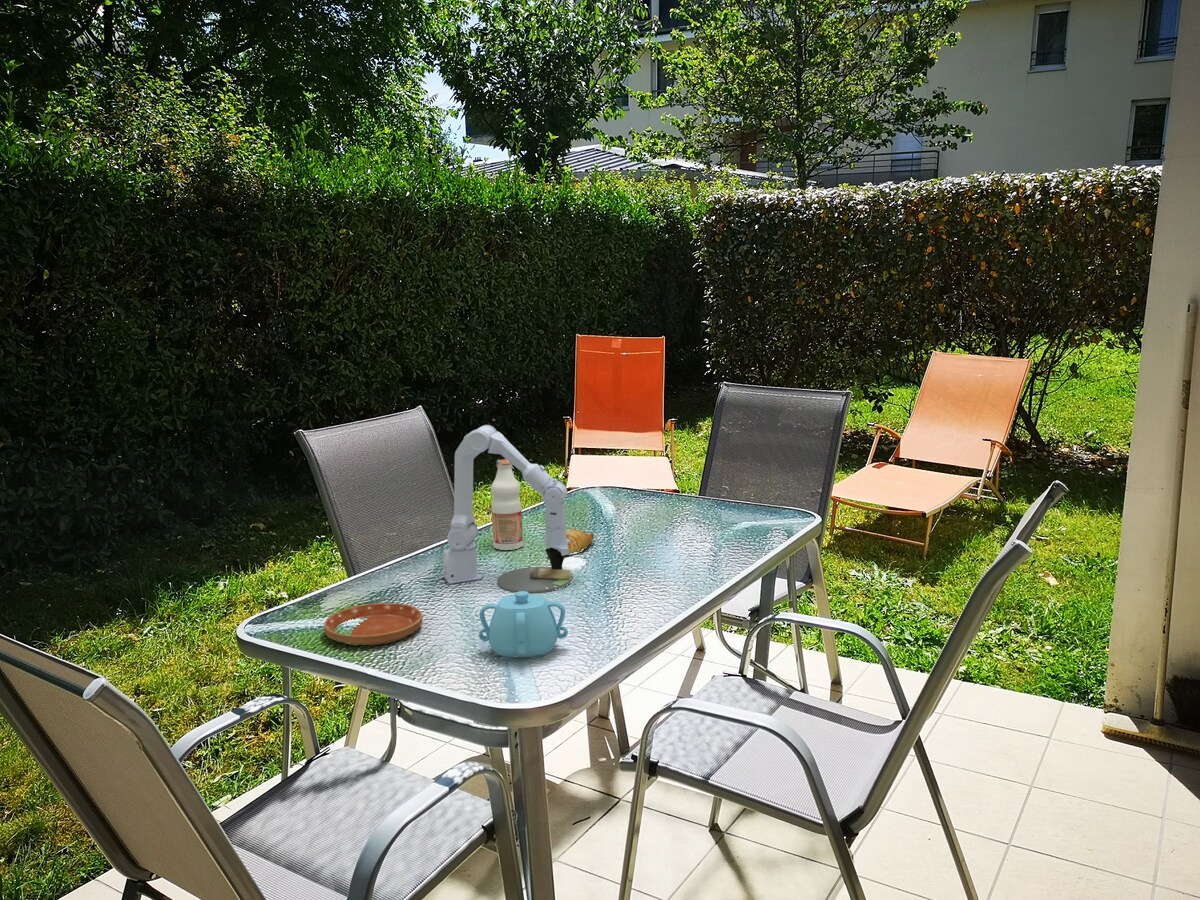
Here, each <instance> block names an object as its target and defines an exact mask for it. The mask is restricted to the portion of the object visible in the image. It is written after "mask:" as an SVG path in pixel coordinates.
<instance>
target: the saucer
mask: <svg viewBox="0 0 1200 900" xmlns="http://www.w3.org/2000/svg"><path fill="white" fill-rule="evenodd" d="M365 617H366V618H367V617H369V618H368V619H367V620H364V621H363V622H361V623H359V624H360V625H356V626H357V627H354V628H353V629H354V630H352V633H351V634H352V635H345V634H340V633H336V632H334V629H335V628H336V627H337V626H338V625H339V624H341V623H343V622H345V621H348V620H350V619H351V620H352V619H356V618H365ZM422 624H423V612H422V611H421V610H420V609H418V608H417V607H415V606H412V605H408V604H404V603H395V602H394V603H393V602H381V603H380V602H379V603H377V602H376V603H366V604H361V605H356V606H352V607H348V608H345V609H343V610H339V611H337V612H335V613H333V614H332V615H330V616H329V617H327V618H326V620H325V621H324V623H323V628H324V634H325V635H326V637H328V638H329V639H331V640H334V641H336V642H338V641H340V642H344V643H350V644H356V645H371V646H378V644H380V645H385V644H389V643H394V642H396V641H399V640H402V639H404V638H407V637H408V636H410V635H411V634H413V633H414V632H416V631H417V630H418V629H419V628H420V627H421V626H422ZM340 642H339V643H340ZM356 645H355V646H356Z"/></svg>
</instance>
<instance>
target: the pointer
mask: <svg viewBox="0 0 1200 900" xmlns="http://www.w3.org/2000/svg"><path fill="white" fill-rule="evenodd" d="M539 567H540V566H532V568H530V578H554V579H570V578H571V574H572V573H571V569H565V568H562V569H540V568H539Z"/></svg>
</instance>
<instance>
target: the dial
mask: <svg viewBox="0 0 1200 900" xmlns="http://www.w3.org/2000/svg"><path fill="white" fill-rule="evenodd" d="M532 567H533V566H532ZM532 567H531V566H530V567H528V566H527V567H521V568H517V569H512V570H509V571H507V572H504V573H502V574H500V575H499V576H498V577H497V581H496V583H497V586H498V587H499V588H500V589H502V590H504V591H507V592H512V593H516V592H519V591H526V592H528V593H529V594H541V593H543V592H544V593H549V592H548V591H550V592H553V591H552V590H555V589H559V588H562V587H564V586H566V585H567V584H569V583H570V582H571V581H572V579H573V580H574V575H573V574H572V573H571V578H570V579H554V578H530V568H532ZM538 567H539V568H540V569H552V568H551V566H538ZM572 582H573V581H572ZM566 587H567V586H566ZM564 588H565V587H564ZM562 589H563V588H562ZM559 590H560V589H559ZM555 591H556V590H555ZM544 593H543V594H544Z"/></svg>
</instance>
